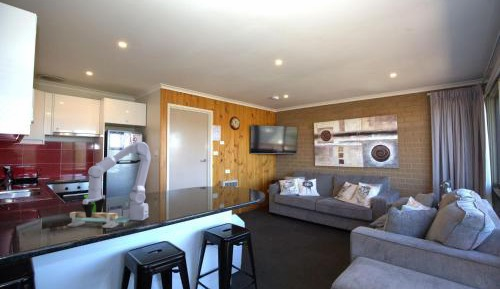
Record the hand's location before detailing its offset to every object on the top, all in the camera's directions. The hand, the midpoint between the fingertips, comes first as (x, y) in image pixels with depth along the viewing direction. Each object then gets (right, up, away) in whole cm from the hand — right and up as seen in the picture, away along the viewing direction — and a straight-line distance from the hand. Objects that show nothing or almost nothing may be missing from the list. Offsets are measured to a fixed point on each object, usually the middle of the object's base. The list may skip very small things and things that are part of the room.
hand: (93, 215), depth 128 cm
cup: (-16, -6, +24) cm, 29 cm away
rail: (0, -1, 0) cm, 1 cm away
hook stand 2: (+9, -5, 0) cm, 10 cm away
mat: (0, -6, +10) cm, 12 cm away
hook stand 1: (-9, -5, 0) cm, 10 cm away
